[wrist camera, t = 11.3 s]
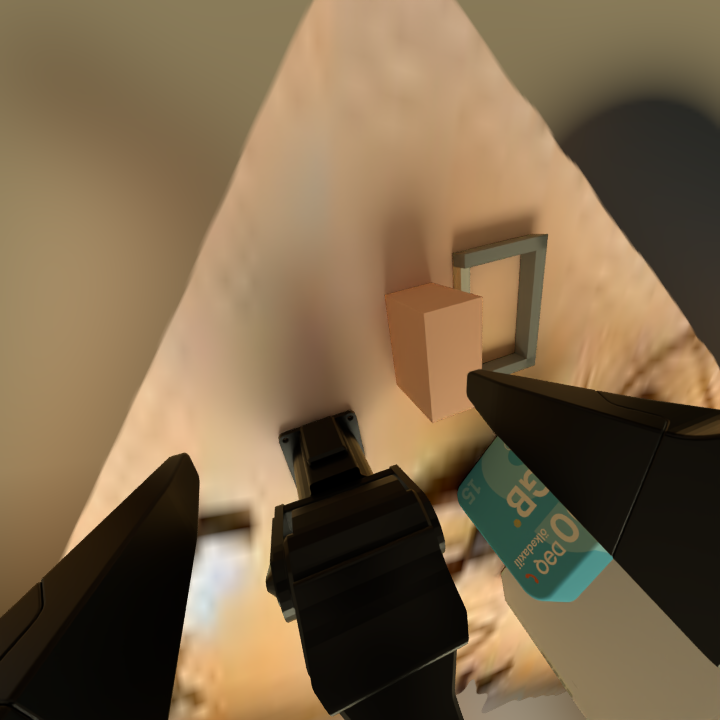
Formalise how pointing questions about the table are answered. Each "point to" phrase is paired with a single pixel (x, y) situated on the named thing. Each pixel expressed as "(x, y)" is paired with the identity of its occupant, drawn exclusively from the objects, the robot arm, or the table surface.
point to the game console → (619, 652)
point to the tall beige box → (435, 346)
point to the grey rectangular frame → (528, 293)
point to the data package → (530, 528)
